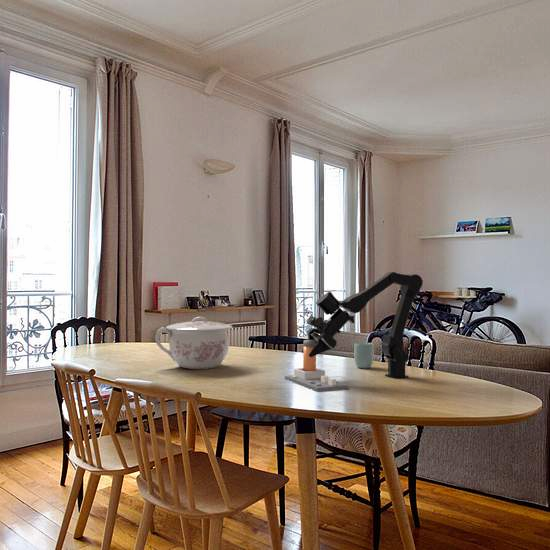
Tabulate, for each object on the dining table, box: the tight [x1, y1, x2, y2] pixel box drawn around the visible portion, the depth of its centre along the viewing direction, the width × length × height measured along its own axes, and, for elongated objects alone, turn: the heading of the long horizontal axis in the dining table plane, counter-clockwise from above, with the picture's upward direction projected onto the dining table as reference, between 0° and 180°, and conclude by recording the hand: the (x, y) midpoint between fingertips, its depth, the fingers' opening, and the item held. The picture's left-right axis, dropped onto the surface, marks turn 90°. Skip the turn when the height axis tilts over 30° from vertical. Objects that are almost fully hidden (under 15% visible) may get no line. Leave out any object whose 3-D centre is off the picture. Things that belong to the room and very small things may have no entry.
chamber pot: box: [154, 316, 234, 370], centre depth 230 cm, size 28×28×21 cm
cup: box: [353, 341, 375, 369], centre depth 230 cm, size 8×8×10 cm
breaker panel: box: [284, 367, 349, 392], centre depth 196 cm, size 24×12×4 cm, turn 25°
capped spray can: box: [302, 339, 317, 372], centre depth 202 cm, size 5×5×13 cm
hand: (305, 354), depth 202 cm, fingers open, 9 cm apart
